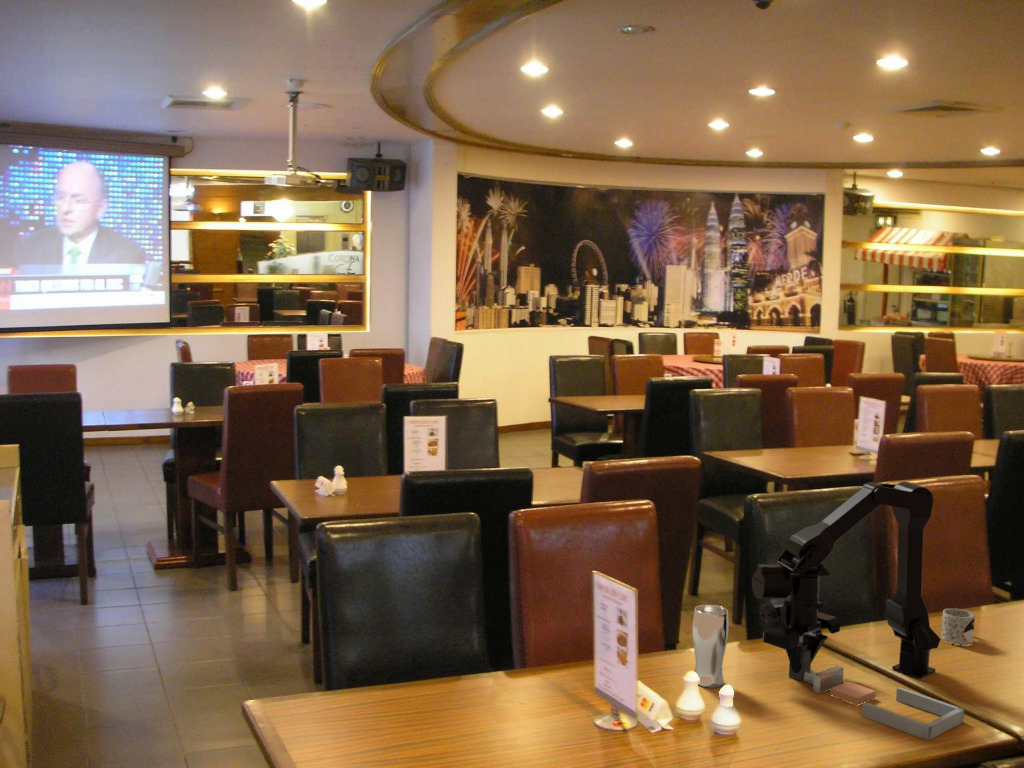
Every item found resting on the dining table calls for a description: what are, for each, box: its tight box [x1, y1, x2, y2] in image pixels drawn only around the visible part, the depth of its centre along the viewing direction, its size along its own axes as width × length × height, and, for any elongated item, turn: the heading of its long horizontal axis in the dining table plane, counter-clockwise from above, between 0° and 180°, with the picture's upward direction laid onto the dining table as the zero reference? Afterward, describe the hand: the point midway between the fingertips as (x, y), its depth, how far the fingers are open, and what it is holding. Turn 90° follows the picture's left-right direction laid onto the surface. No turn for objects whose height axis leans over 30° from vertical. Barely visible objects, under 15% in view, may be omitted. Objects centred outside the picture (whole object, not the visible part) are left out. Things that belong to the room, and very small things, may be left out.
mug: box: [940, 608, 976, 645], centre depth 236 cm, size 10×7×7 cm, turn 147°
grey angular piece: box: [788, 648, 845, 694], centre depth 208 cm, size 8×9×6 cm
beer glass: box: [692, 604, 729, 689], centre depth 207 cm, size 7×7×15 cm
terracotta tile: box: [829, 681, 877, 706], centre depth 201 cm, size 6×6×2 cm
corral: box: [861, 687, 966, 741], centre depth 192 cm, size 13×13×2 cm
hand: (800, 670), depth 211 cm, fingers closed on grey angular piece, 3 cm apart
